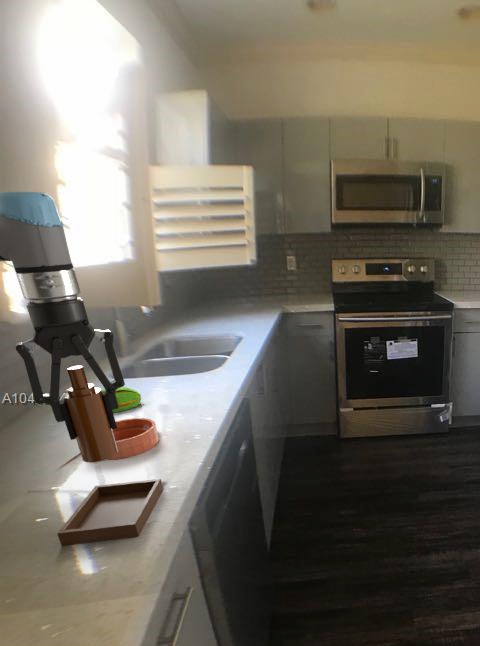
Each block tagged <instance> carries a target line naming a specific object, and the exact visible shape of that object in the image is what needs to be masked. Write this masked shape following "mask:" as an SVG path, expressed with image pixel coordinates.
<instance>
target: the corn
mask: <svg viewBox="0 0 480 646" xmlns="http://www.w3.org/2000/svg"><path fill="white" fill-rule="evenodd" d="M101 391H106V389H105V388H103V389H101ZM115 394H116V398H117V402H118V405H119V406H118V409H114V410H112V411H113V413H118V412H123V411H126V410H130V409H133V408H135V407H137V406H139V405H140V403H141V401H142V394H141V393H140V392H139V391H137V390H135V389H132V388H129V387H125V386H123V387H120V388H118V389H117V390H116V391H115Z"/></svg>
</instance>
